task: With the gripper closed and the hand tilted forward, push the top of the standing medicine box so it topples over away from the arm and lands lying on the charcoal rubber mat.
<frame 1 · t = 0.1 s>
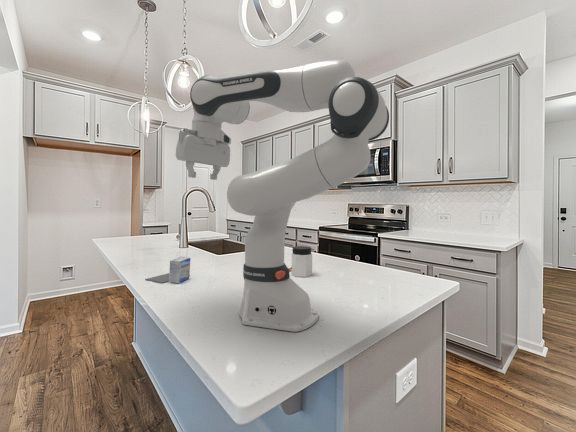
hand: (203, 178, 94), 39 cm above the countertop, tool pointing down, fingers open, 8 cm apart
medicine box: (179, 280, 118), on the countertop, touching mat
jar: (301, 275, 129), on the countertop
mat: (168, 277, 122), on the countertop
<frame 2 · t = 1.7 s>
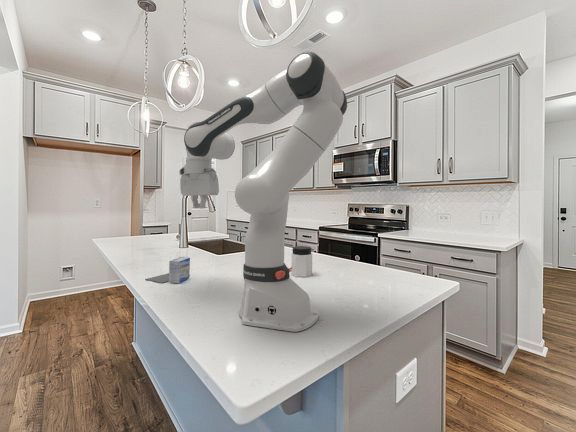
hand: (199, 208, 107), 29 cm above the countertop, tool pointing down, fingers open, 3 cm apart
nothing on the countertop moved.
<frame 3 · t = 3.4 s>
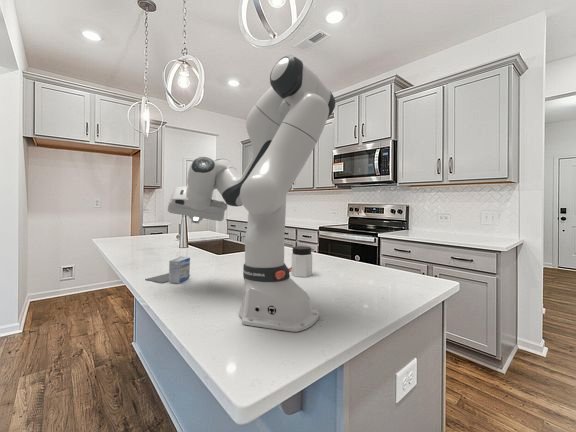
hand: (195, 221, 115), 24 cm above the countertop, tool tilted 50°, fingers closed
nothing on the countertop moved.
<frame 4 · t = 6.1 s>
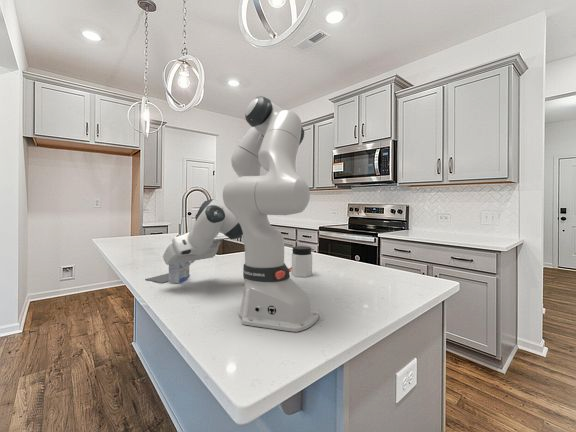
hand: (185, 265, 115), 7 cm above the countertop, tool tilted 45°, fingers closed
medicine box: (179, 280, 118), on the countertop, touching gripper, mat
everything else where it was.
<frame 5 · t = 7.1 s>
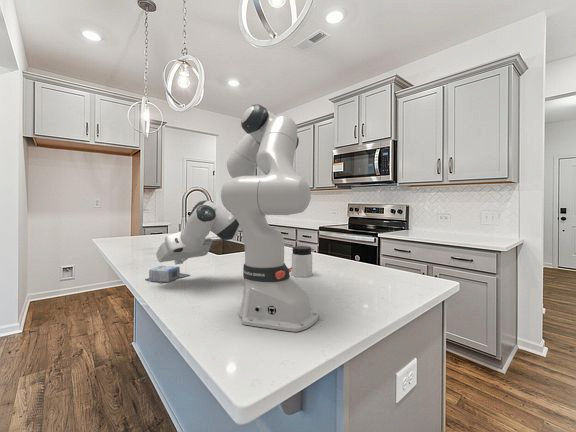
hand: (178, 262, 119), 7 cm above the countertop, tool tilted 45°, fingers closed
medicine box: (175, 274, 118), point 3 cm above the countertop, touching mat
everything else where it was.
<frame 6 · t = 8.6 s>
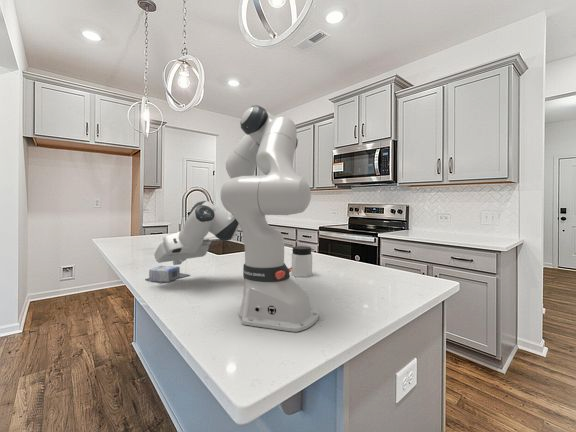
hand: (176, 263, 118), 7 cm above the countertop, tool tilted 45°, fingers closed
nothing on the countertop moved.
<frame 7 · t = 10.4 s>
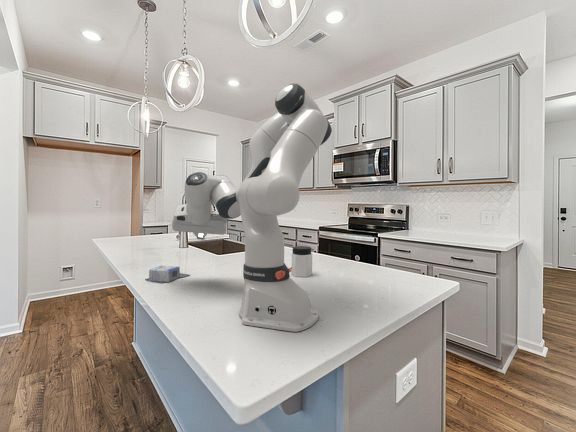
hand: (201, 238, 119), 17 cm above the countertop, tool tilted 40°, fingers closed
nothing on the countertop moved.
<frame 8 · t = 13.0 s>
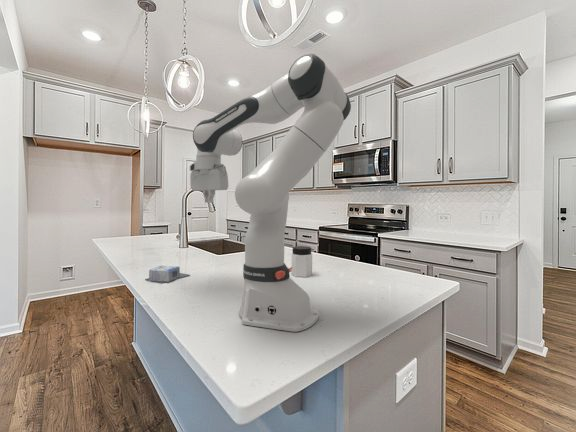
hand: (208, 202, 112), 31 cm above the countertop, tool pointing down, fingers closed
nothing on the countertop moved.
at the end: medicine box tilted 89°; medicine box 5.9 cm from the mat (horizontally) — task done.
